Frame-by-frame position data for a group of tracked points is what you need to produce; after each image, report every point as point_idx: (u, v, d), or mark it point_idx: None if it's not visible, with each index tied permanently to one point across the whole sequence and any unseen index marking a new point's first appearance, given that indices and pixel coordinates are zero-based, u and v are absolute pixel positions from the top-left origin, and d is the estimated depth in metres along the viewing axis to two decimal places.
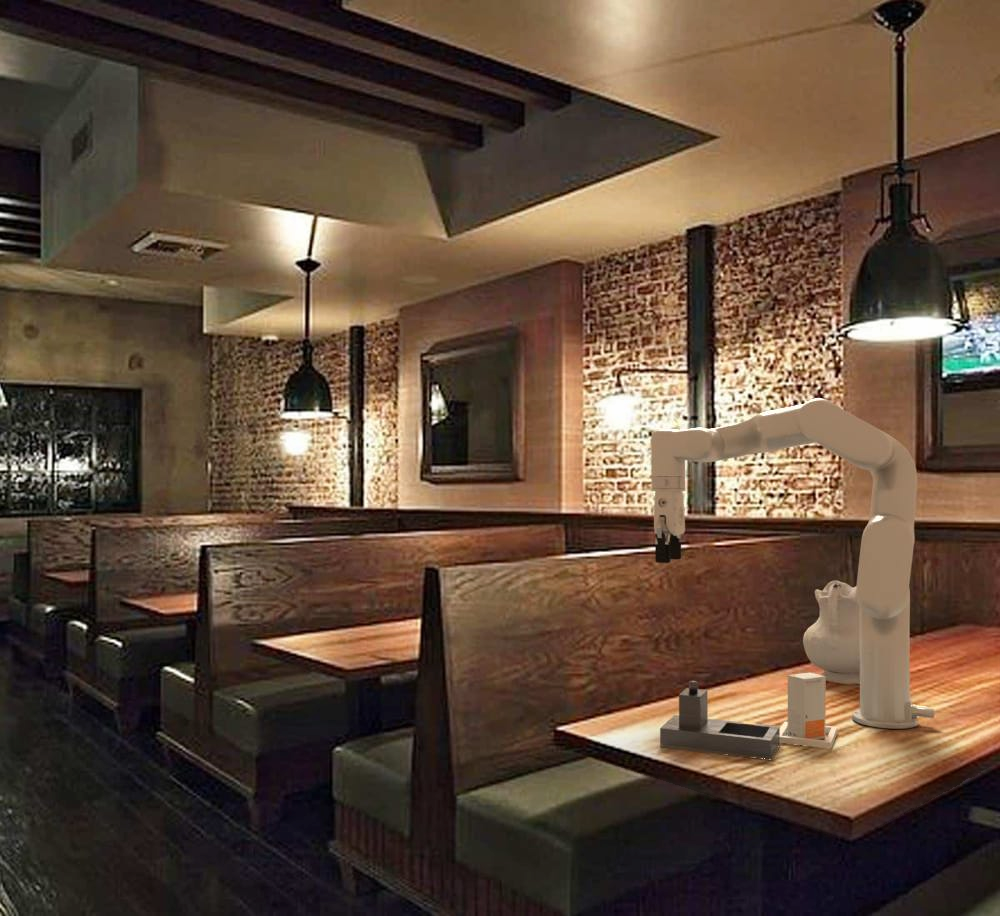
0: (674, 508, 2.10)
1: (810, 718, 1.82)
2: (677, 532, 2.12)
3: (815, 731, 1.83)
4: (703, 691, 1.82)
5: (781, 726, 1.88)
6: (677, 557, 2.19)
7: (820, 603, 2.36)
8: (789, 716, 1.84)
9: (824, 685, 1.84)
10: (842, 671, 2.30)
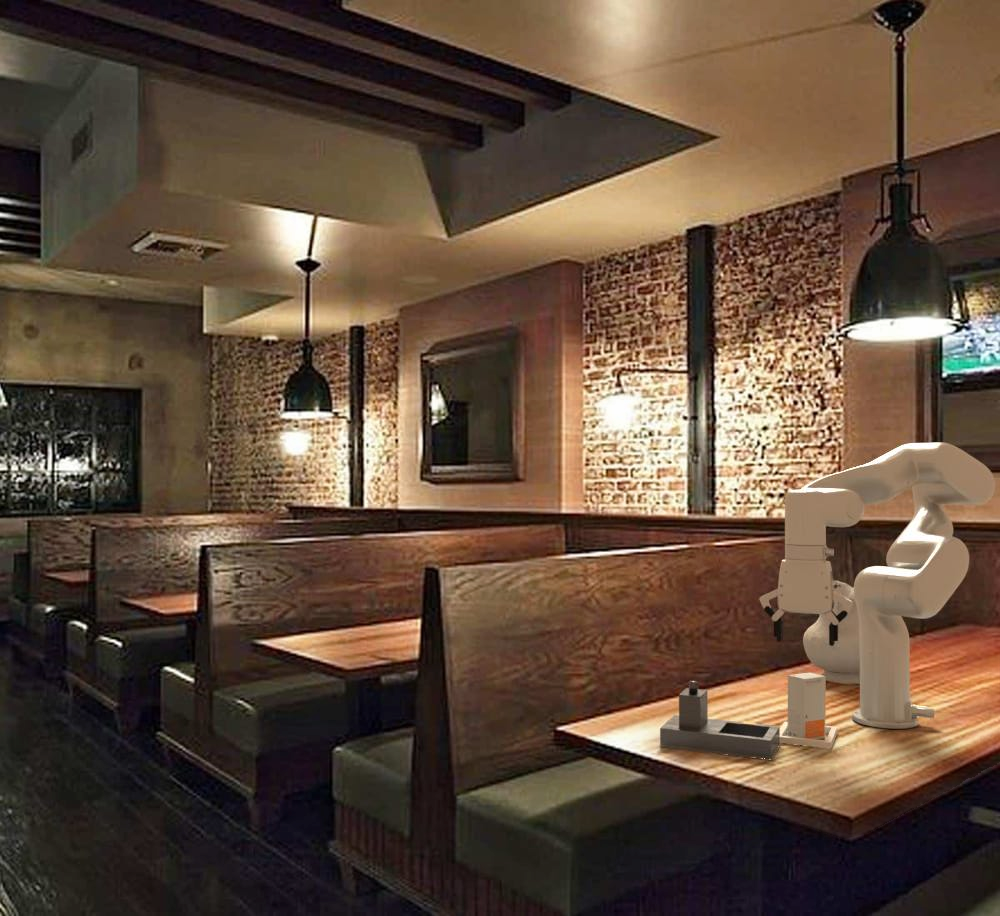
0: None
1: (810, 718, 1.82)
2: None
3: (815, 731, 1.83)
4: (703, 691, 1.82)
5: (781, 726, 1.88)
6: (782, 638, 1.87)
7: None
8: (789, 716, 1.84)
9: (824, 685, 1.84)
10: (842, 671, 2.30)
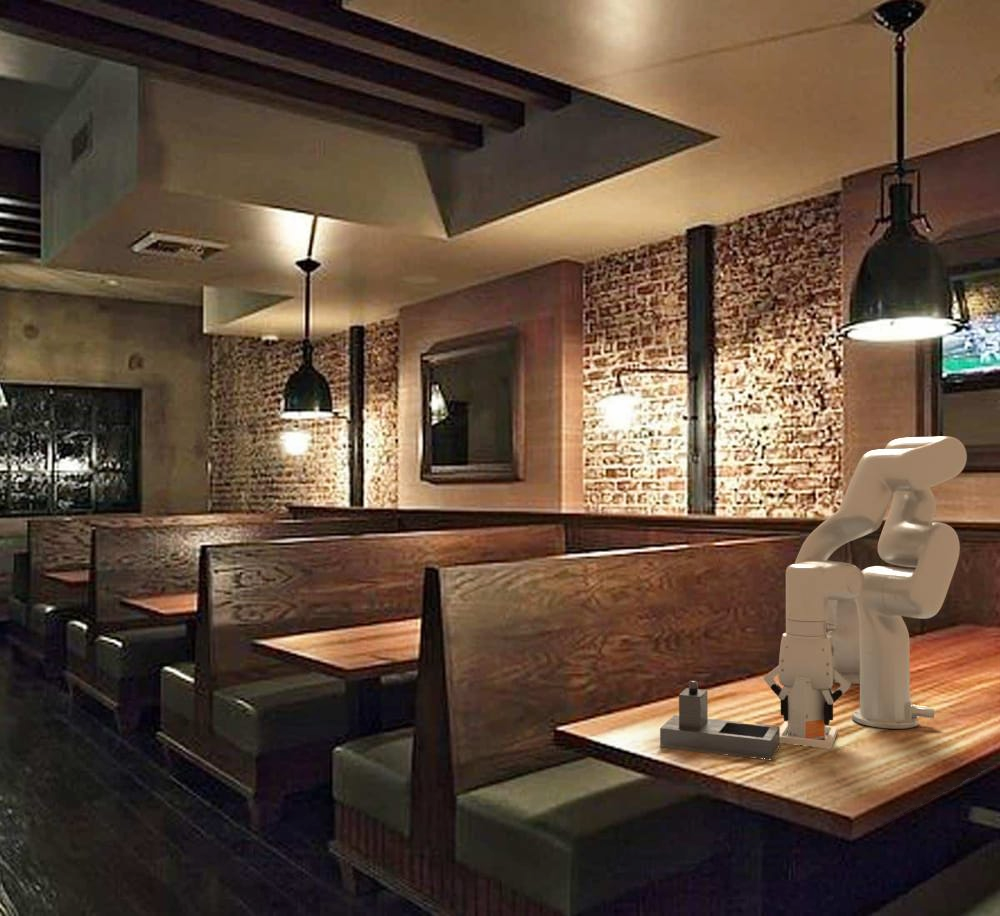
0: None
1: (810, 718, 1.82)
2: None
3: (816, 731, 1.83)
4: (703, 691, 1.82)
5: (781, 726, 1.88)
6: None
7: None
8: (789, 716, 1.84)
9: None
10: (842, 671, 2.30)
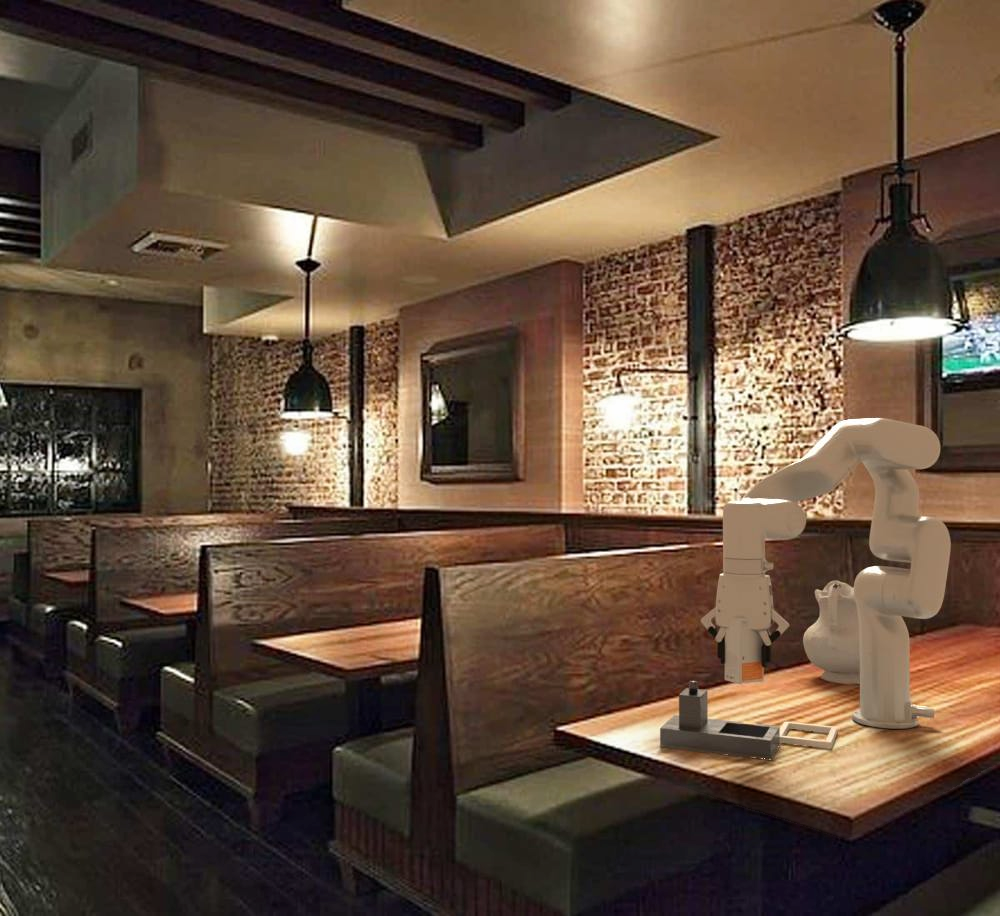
0: None
1: (747, 659, 1.75)
2: None
3: (753, 673, 1.75)
4: (703, 691, 1.82)
5: (781, 726, 1.88)
6: None
7: (820, 603, 2.36)
8: (726, 658, 1.77)
9: None
10: (842, 671, 2.30)
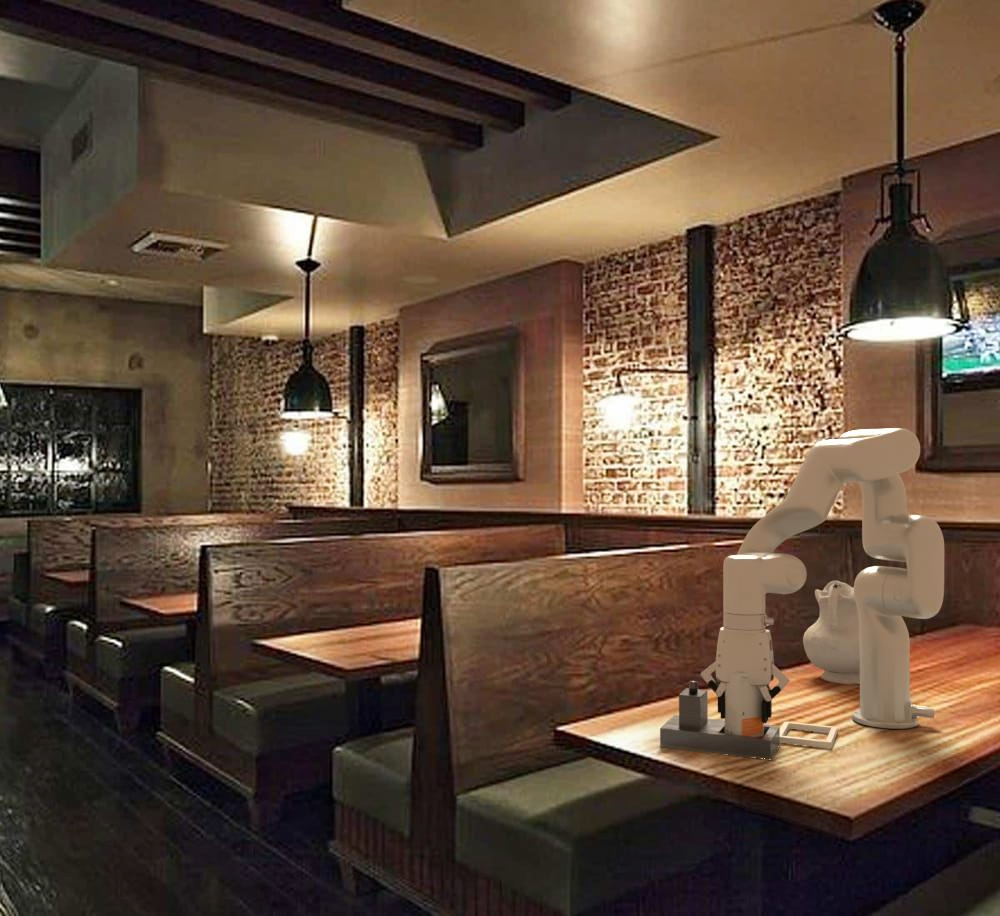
0: None
1: (747, 715, 1.74)
2: None
3: (753, 729, 1.75)
4: (703, 691, 1.82)
5: (781, 726, 1.88)
6: None
7: (820, 603, 2.36)
8: (726, 713, 1.77)
9: None
10: (842, 671, 2.30)
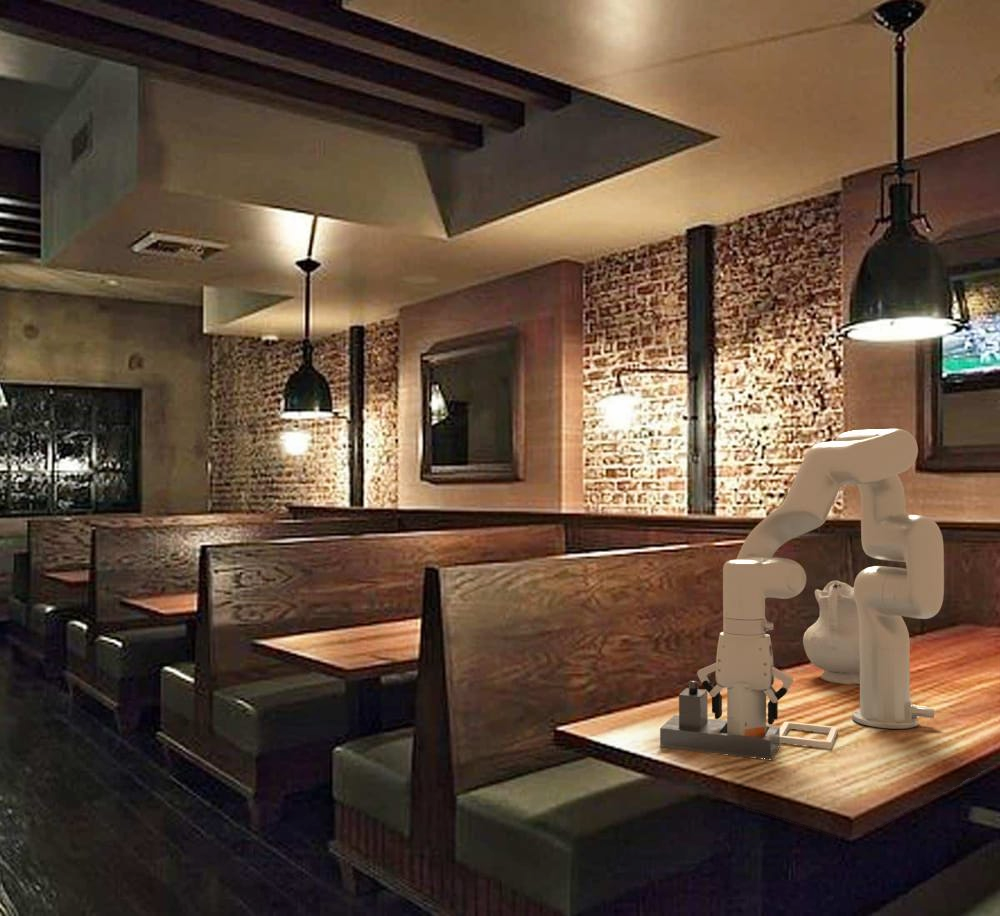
0: None
1: (750, 725, 1.74)
2: None
3: None
4: (703, 691, 1.82)
5: (781, 726, 1.88)
6: (721, 714, 1.80)
7: (820, 603, 2.36)
8: (728, 723, 1.77)
9: None
10: (842, 671, 2.30)
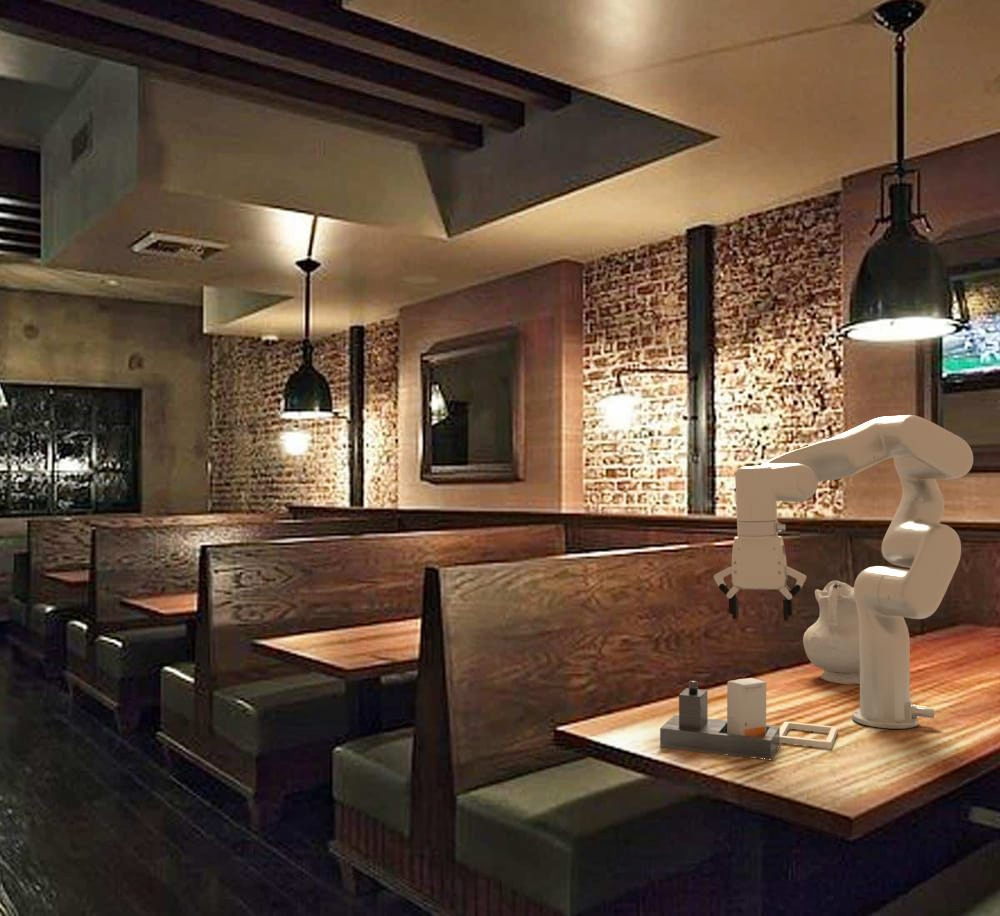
0: None
1: (750, 725, 1.74)
2: None
3: None
4: (703, 691, 1.82)
5: (781, 726, 1.88)
6: (738, 614, 1.87)
7: (820, 603, 2.36)
8: (728, 723, 1.77)
9: (764, 691, 1.76)
10: (842, 671, 2.30)
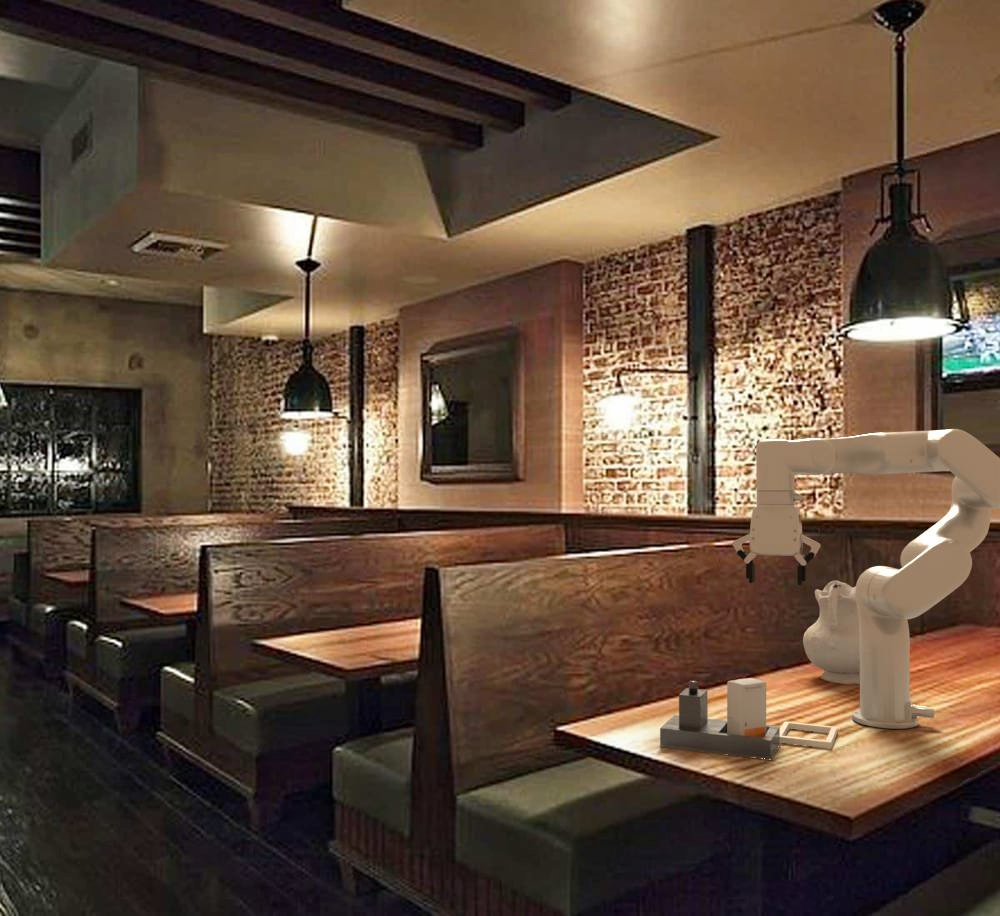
0: None
1: (750, 725, 1.74)
2: None
3: None
4: (703, 691, 1.82)
5: (781, 726, 1.88)
6: (754, 580, 1.98)
7: (820, 603, 2.36)
8: (728, 723, 1.77)
9: (764, 691, 1.76)
10: (842, 671, 2.30)
